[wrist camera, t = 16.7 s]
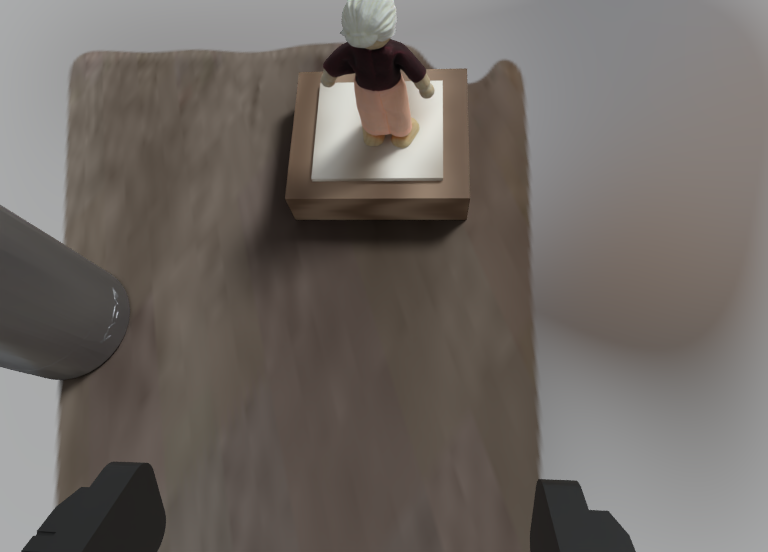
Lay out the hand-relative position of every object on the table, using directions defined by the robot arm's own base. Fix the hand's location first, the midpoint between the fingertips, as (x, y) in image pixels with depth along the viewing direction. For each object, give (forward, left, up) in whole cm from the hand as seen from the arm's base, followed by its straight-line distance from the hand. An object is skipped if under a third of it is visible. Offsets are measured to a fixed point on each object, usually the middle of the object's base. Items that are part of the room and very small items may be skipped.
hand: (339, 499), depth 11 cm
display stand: (-2, +26, -27) cm, 37 cm away
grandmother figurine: (-2, +25, -23) cm, 34 cm away
